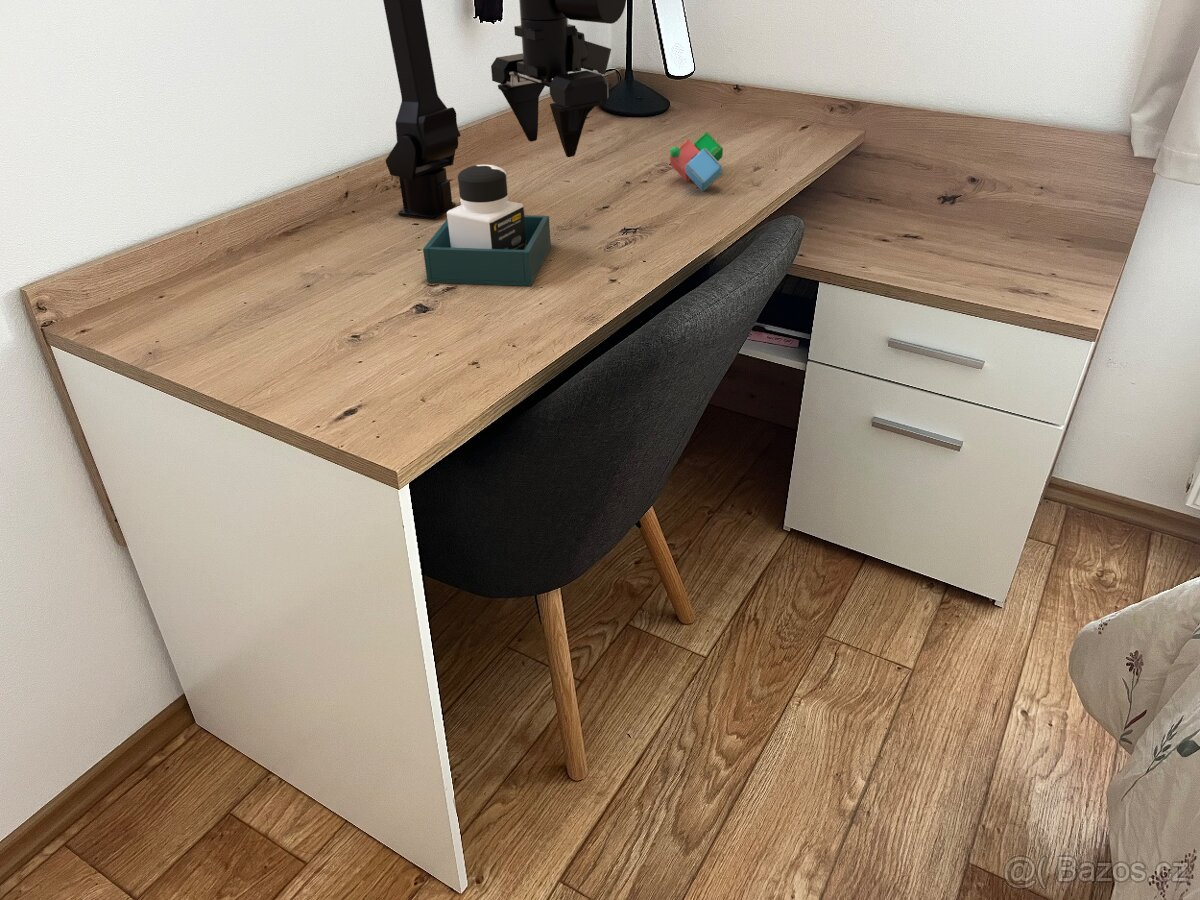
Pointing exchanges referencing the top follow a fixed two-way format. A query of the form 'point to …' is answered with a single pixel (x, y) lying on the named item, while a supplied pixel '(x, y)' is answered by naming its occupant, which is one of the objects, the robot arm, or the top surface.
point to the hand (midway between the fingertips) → (551, 148)
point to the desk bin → (488, 258)
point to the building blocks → (698, 160)
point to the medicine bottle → (486, 212)
